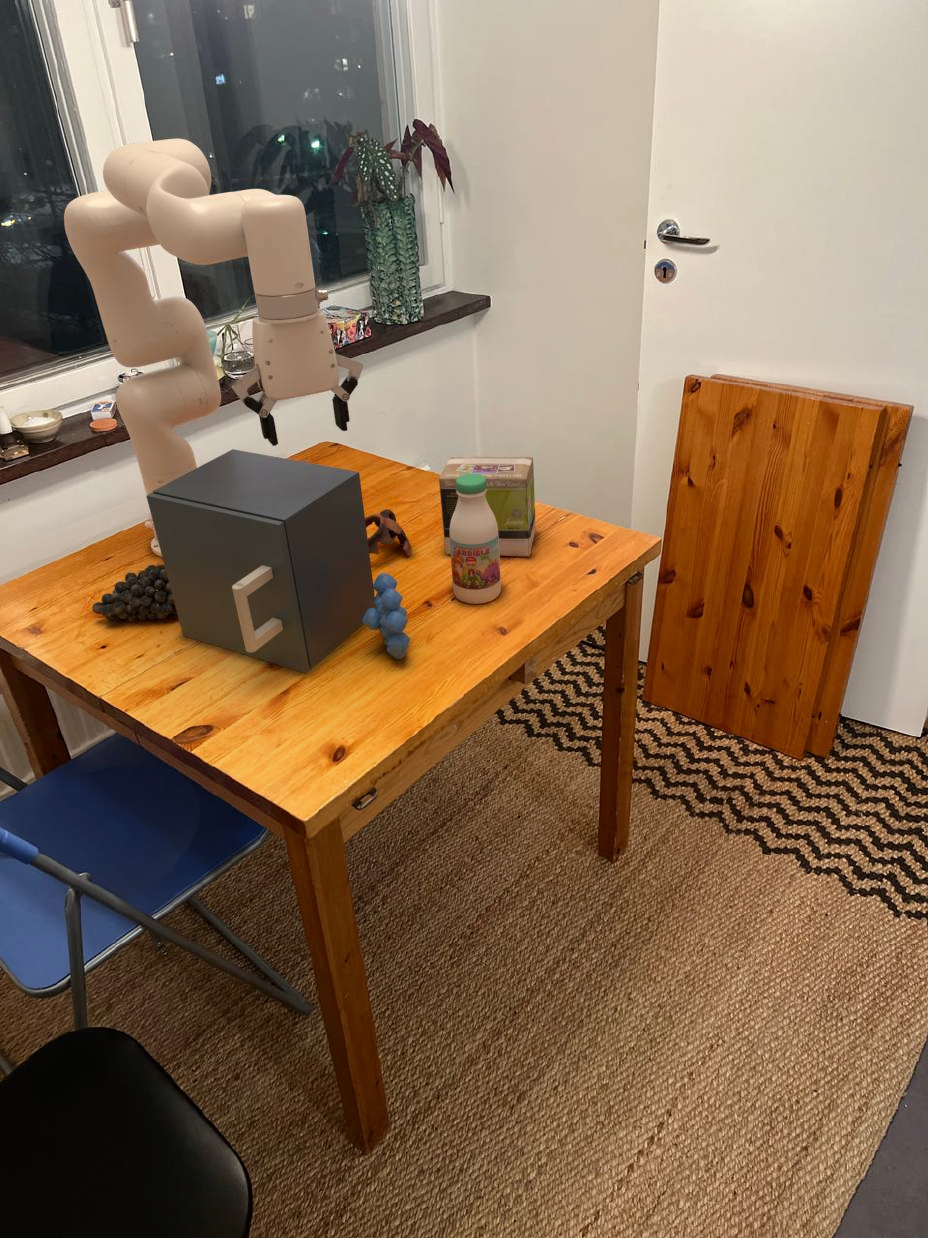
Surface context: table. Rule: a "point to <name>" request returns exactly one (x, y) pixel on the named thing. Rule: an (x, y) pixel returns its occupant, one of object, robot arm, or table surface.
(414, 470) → the table surface
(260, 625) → the cupboard door
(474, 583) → the milk bottle
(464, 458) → the tea box
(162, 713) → the table surface
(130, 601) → the fruit
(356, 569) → the cupboard
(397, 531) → the brown curved legged piece
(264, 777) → the table surface
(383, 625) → the grapes
